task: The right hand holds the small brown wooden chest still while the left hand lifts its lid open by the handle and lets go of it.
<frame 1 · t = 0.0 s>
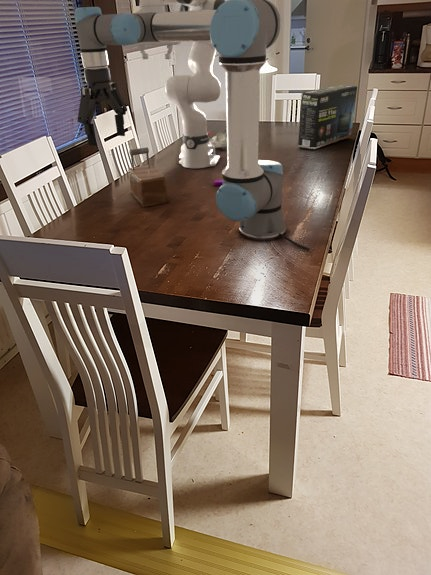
left hand: (156, 59, 170), 48 cm above the table, tool pointing down, fingers open, 8 cm apart
right hand: (107, 140, 148), 28 cm above the table, tool pointing down, fingers open, 13 cm apart
router box: (325, 143, 245), on the table
chest: (149, 198, 181), on the table
fossil: (219, 146, 247), on the table
purple curved bar: (227, 190, 186), on the table
lid: (144, 163, 175), point 14 cm above the table, hinge at 0.0°
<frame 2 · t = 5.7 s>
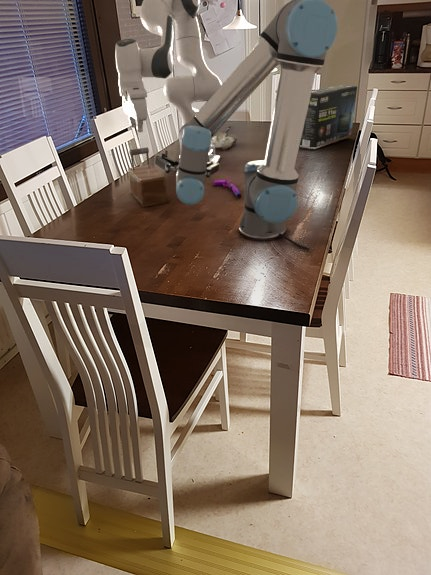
left hand: (136, 129, 174), 25 cm above the table, tool pointing down, fingers open, 8 cm apart
right hand: (186, 157, 152), 21 cm above the table, tool horizontal, fingers open, 13 cm apart
nothing on the table moved.
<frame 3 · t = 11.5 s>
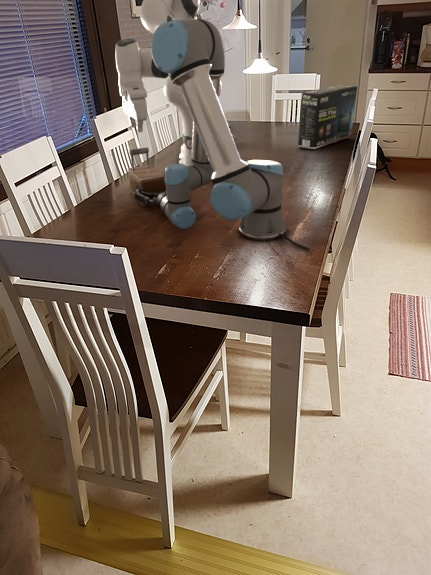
left hand: (136, 129, 174), 25 cm above the table, tool pointing down, fingers open, 8 cm apart
right hand: (150, 186, 175), 6 cm above the table, tool horizontal, fingers closed on chest, 9 cm apart
chest: (149, 198, 181), on the table, touching right hand
everything else where it was.
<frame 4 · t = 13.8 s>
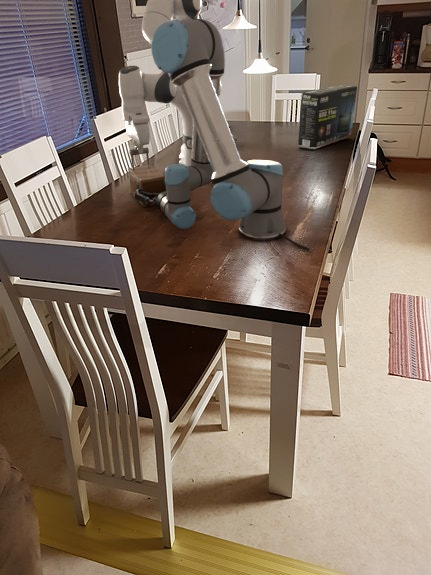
left hand: (139, 151, 178), 17 cm above the table, tool pointing down, fingers closed on lid, 2 cm apart
right hand: (150, 186, 175), 6 cm above the table, tool horizontal, fingers closed on chest, 9 cm apart
chest: (149, 198, 181), on the table, touching right hand
lid: (144, 163, 175), point 14 cm above the table, hinge at -0.1°, touching left hand
everything else where it was.
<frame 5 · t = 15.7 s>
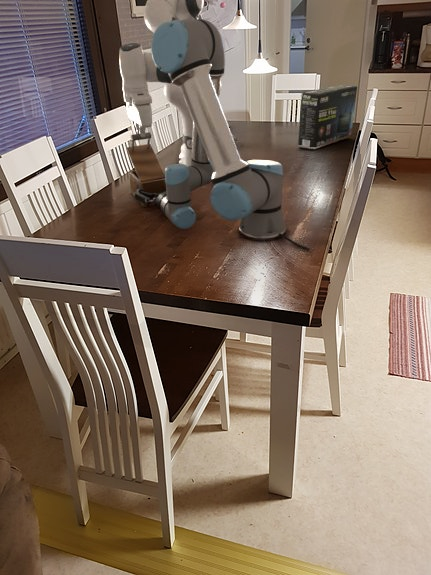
left hand: (141, 135, 170), 24 cm above the table, tool pointing down, fingers closed
right hand: (150, 186, 175), 6 cm above the table, tool horizontal, fingers closed on chest, 9 cm apart
chest: (149, 198, 181), on the table, touching right hand
lid: (146, 155, 170), point 18 cm above the table, hinge at 30.5°, touching left hand
everything else where it was.
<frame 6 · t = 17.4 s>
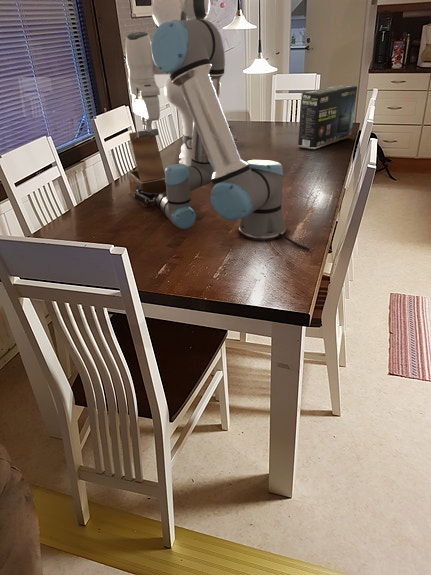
left hand: (147, 130, 160), 27 cm above the table, tool pointing down, fingers closed, pressing on lid
right hand: (150, 186, 175), 6 cm above the table, tool horizontal, fingers closed on chest, 10 cm apart
chest: (148, 198, 181), on the table, touching right hand
lid: (149, 153, 165), point 19 cm above the table, hinge at 65.7°, touching left hand
everything else where it was.
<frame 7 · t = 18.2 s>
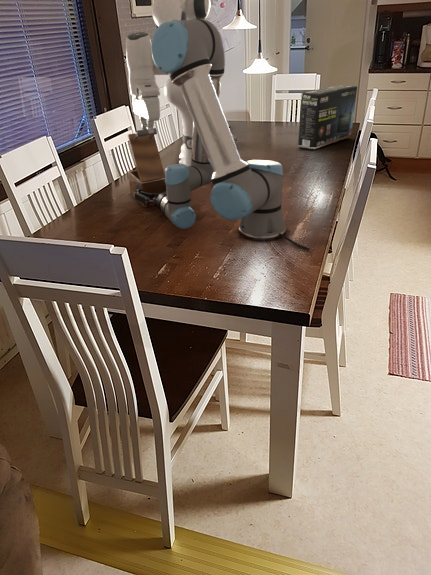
left hand: (147, 131, 160), 27 cm above the table, tool pointing down, fingers open, 5 cm apart
right hand: (150, 186, 175), 6 cm above the table, tool horizontal, fingers closed on chest, 10 cm apart
chest: (148, 198, 181), on the table, touching right hand
lid: (149, 153, 165), point 19 cm above the table, hinge at 59.9°, touching left hand
everything else where it was.
when the right hand's fingers open (6 cm above the table, at t = 21.6 s): chest stays where it is, on the table.
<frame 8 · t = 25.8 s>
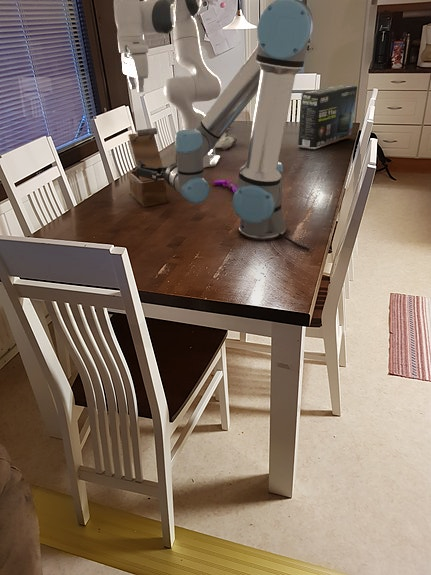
left hand: (136, 90, 161), 40 cm above the table, tool pointing down, fingers open, 8 cm apart
right hand: (158, 161, 158), 19 cm above the table, tool horizontal, fingers open, 13 cm apart
chest: (148, 198, 181), on the table
lid: (149, 152, 166), point 19 cm above the table, hinge at 59.0°
everything else where it was.
at the end: lid at +59° (first picture: +0°); the left hand is holding nothing; the right hand is holding nothing; chest tilted 0°; chest never tilted more than 1° during the clip; chest moved 0.1 cm from its start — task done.
